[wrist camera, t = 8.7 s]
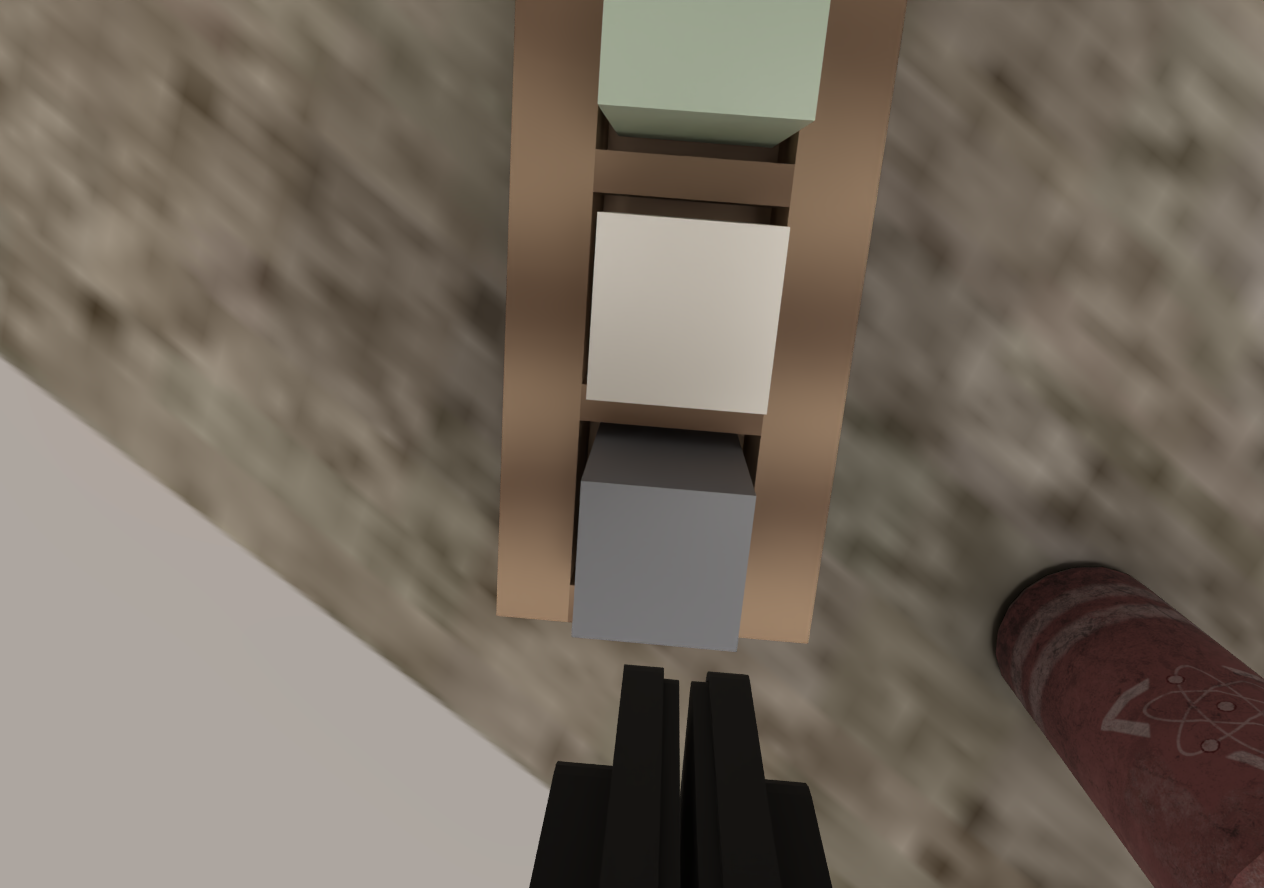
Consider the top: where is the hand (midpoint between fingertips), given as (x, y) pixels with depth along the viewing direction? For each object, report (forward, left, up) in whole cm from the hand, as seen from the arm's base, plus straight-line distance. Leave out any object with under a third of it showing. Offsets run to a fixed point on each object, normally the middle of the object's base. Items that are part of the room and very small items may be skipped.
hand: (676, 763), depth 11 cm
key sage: (-11, 0, -15) cm, 19 cm away
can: (+7, +16, -19) cm, 26 cm away
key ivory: (-5, 0, -17) cm, 18 cm away
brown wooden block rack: (-5, 0, -19) cm, 19 cm away
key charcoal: (+2, 0, -17) cm, 17 cm away
